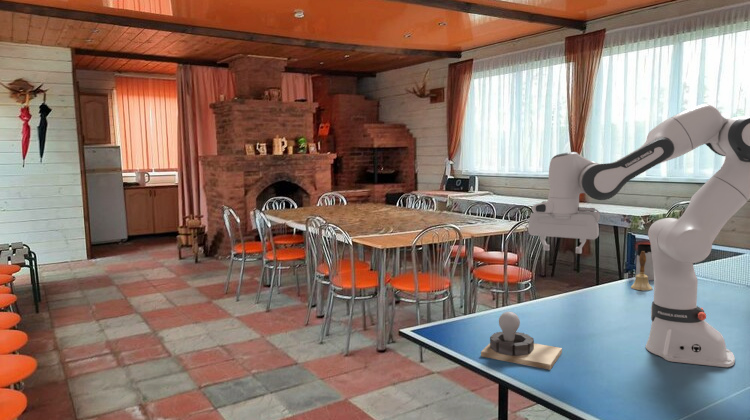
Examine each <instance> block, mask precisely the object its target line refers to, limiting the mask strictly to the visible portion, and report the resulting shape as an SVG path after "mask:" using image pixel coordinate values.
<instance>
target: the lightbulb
mask: <svg viewBox="0 0 750 420" xmlns="http://www.w3.org/2000/svg"><path fill="white" fill-rule="evenodd" d="M498 325H499V328H500V329H501V332H503V336H504V342H509V343H513V342H514V338H515V333H516V332H518V329H519V328H520V326H521V321H520V318H519V316H518V315H517V314H516V313H515V312H513V311H504V312H503V313H502V314H500V316H499V318H498Z"/></svg>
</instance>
